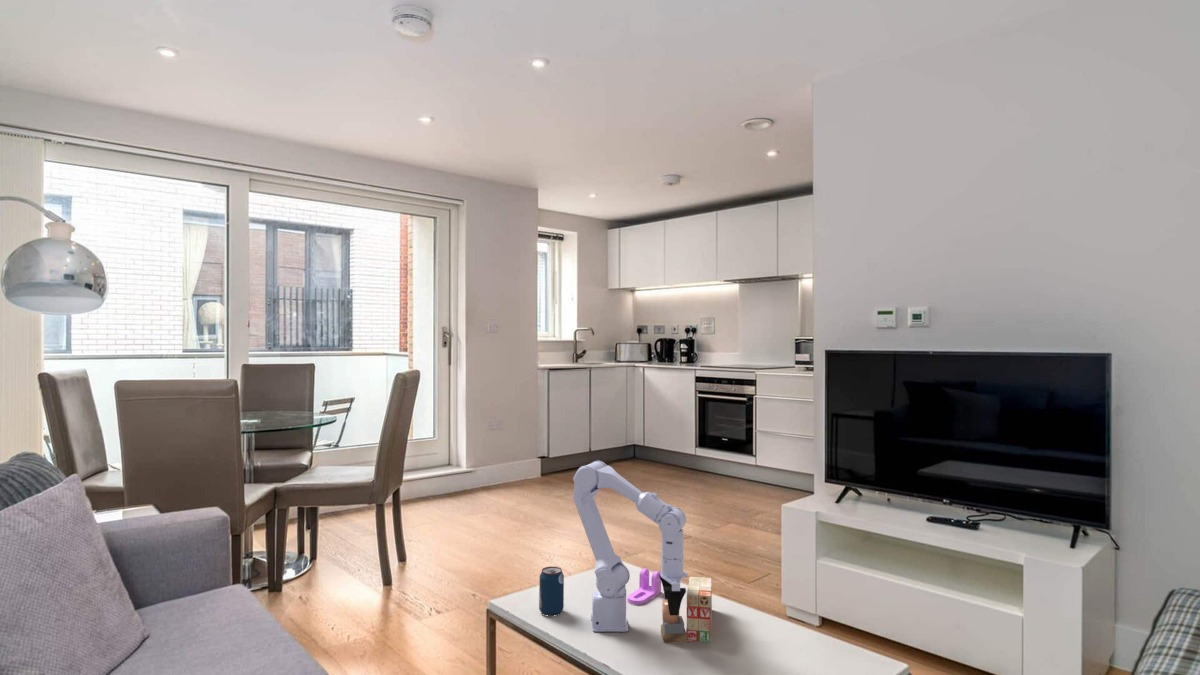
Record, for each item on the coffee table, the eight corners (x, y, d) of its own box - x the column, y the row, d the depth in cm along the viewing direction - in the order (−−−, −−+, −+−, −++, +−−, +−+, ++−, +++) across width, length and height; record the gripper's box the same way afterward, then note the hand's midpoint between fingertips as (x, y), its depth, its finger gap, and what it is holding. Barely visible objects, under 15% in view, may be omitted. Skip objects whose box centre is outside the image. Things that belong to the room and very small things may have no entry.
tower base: (663, 644, 164) (663, 634, 165) (660, 634, 170) (660, 624, 170) (686, 644, 165) (686, 634, 165) (683, 633, 171) (683, 624, 171)
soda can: (568, 611, 183) (569, 569, 183) (551, 619, 177) (551, 576, 178) (551, 605, 187) (551, 564, 187) (533, 612, 182) (534, 570, 182)
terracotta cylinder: (663, 623, 165) (663, 605, 165) (661, 616, 170) (661, 599, 170) (680, 623, 166) (680, 605, 166) (677, 616, 170) (677, 598, 170)
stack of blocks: (690, 608, 187) (690, 565, 187) (711, 610, 185) (712, 567, 186) (686, 641, 166) (686, 593, 166) (710, 643, 164) (711, 595, 165)
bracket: (645, 589, 201) (645, 566, 201) (661, 593, 198) (661, 570, 198) (623, 602, 190) (624, 579, 190) (640, 607, 187) (640, 583, 187)
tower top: (664, 633, 165) (664, 624, 165) (662, 625, 170) (662, 615, 170) (684, 633, 165) (684, 624, 165) (681, 625, 170) (681, 615, 170)
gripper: (692, 565, 161) (691, 620, 160) (683, 547, 175) (682, 597, 175) (664, 565, 160) (663, 620, 160) (657, 547, 175) (656, 597, 175)
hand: (671, 608), depth 167 cm, fingers open, 7 cm apart
